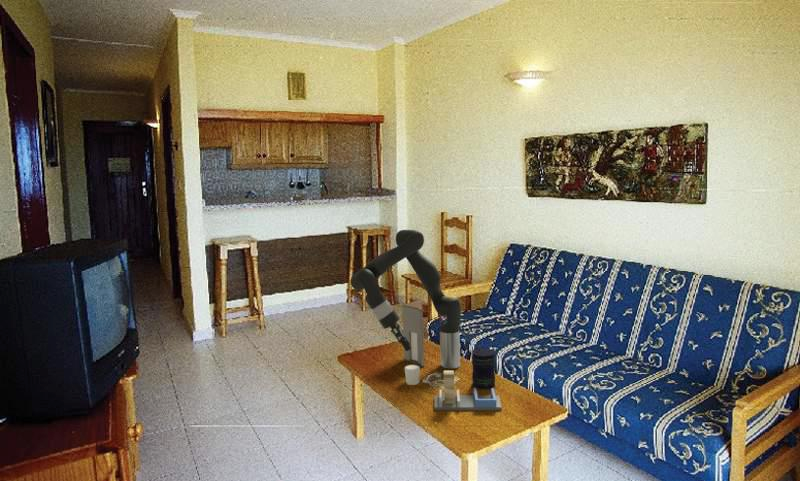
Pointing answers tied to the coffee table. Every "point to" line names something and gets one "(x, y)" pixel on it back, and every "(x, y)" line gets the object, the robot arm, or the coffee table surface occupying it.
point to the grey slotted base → (469, 402)
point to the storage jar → (483, 368)
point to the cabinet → (413, 331)
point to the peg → (449, 387)
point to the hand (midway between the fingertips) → (408, 347)
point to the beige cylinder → (412, 374)
